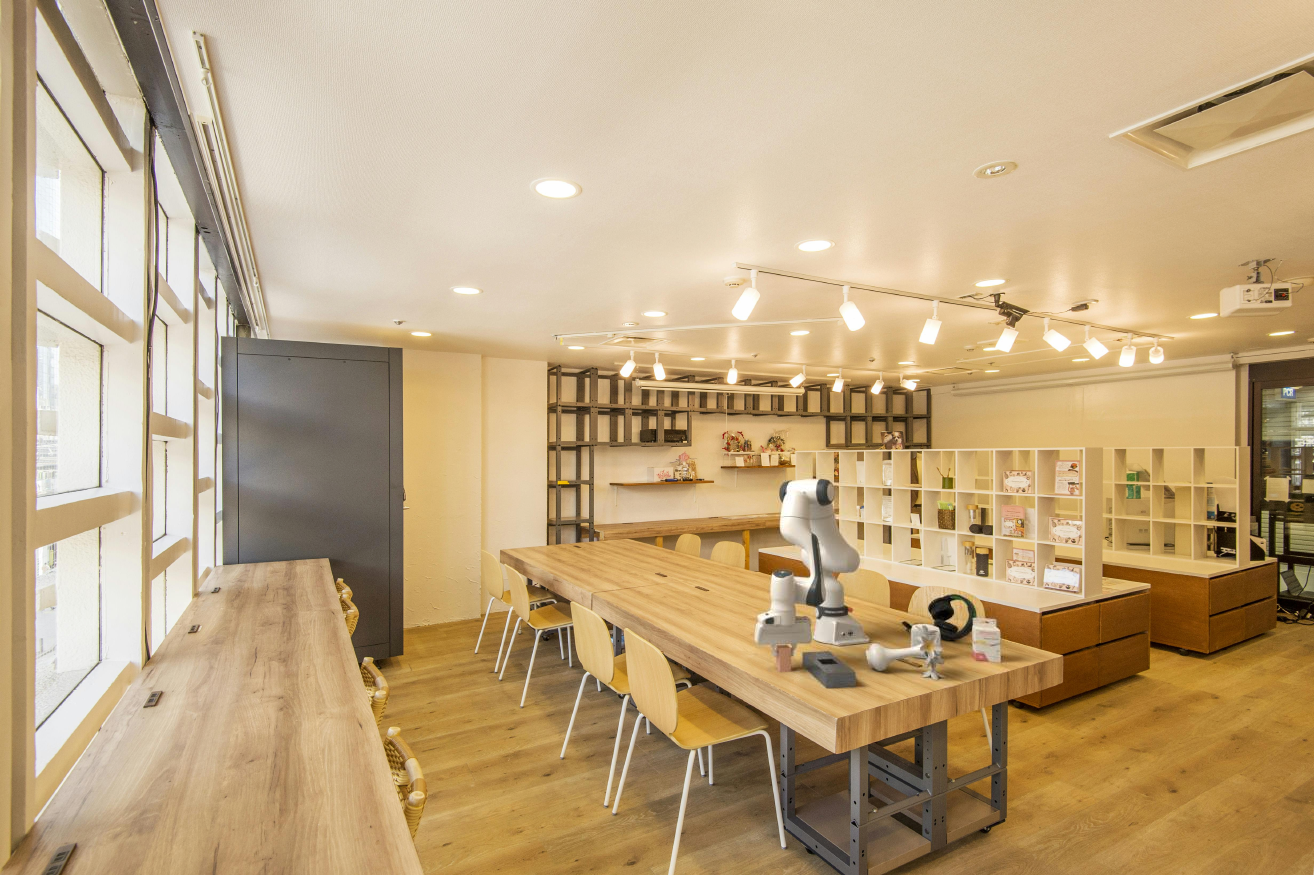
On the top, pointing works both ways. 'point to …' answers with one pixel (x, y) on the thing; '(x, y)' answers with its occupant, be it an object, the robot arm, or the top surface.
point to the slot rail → (828, 669)
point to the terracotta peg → (783, 658)
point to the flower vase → (908, 653)
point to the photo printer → (917, 633)
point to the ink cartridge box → (986, 640)
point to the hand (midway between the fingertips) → (783, 656)
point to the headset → (948, 617)
